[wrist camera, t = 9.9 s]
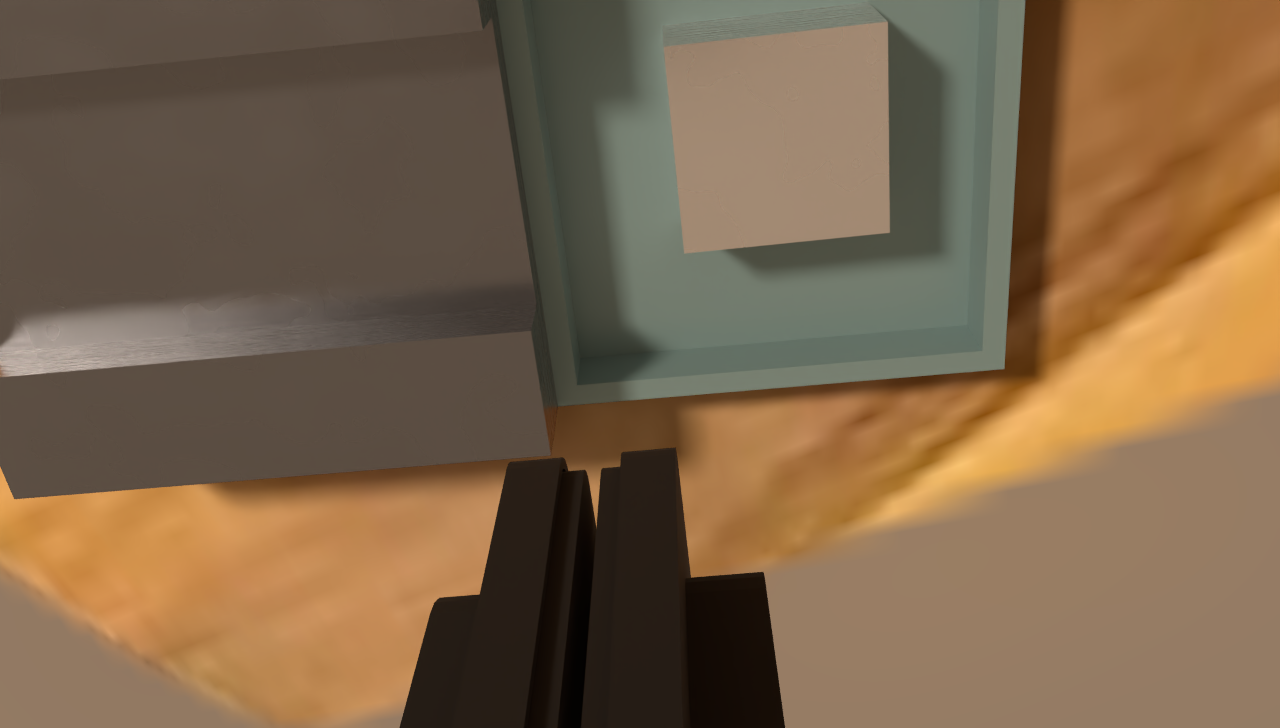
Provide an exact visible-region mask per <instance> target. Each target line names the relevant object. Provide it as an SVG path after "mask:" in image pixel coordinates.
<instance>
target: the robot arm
mask: <svg viewBox="0 0 1280 728" xmlns="http://www.w3.org/2000/svg"><path fill="white" fill-rule="evenodd" d="M400 728H785V725H784V717H783V709H782V702H781V695H780V687H779V680H778V672H777V665H776V658H775V650H774V643H773V635H772V629H771V621H770V614H769V606H768V598H767V591H766V584H765V577H764V573H763V572H757V573H744V574H732V575H719V576H707V577H694V578H691V575H690V566H689V557H688V548H687V539H686V530H685V522H684V513H683V504H682V495H681V486H680V477H679V468H678V460H677V453H676V448H666V449H655V450H643V451H632V452H622V454H621V466H620V467H613V468H602V470H601V479H600V491H599V504H598V517H597V530H596V523H595V517H594V511H593V504H592V498H591V492H590V485H589V480H588V475H587V472H586V470H579V471H568V468H567V464H566V461H565V459H564V458H552V459H540V460H529V461H517V462H510V463H509V464H508V467H507V470H506V475H505V479H504V484H503V489H502V493H501V498H500V503H499V507H498V512H497V517H496V521H495V526H494V531H493V535H492V540H491V545H490V549H489V554H488V559H487V563H486V568H485V573H484V577H483V582H482V587H481V591H480V595H469V596H456V597H444V598H439V599H438V600H437V601H436V602H435V603H434V605H433V608H432V610H431V613H430V616H429V620H428V624H427V628H426V631H425V635H424V639H423V642H422V646H421V650H420V654H419V657H418V661H417V665H416V669H415V672H414V676H413V680H412V683H411V687H410V691H409V695H408V698H407V702H406V706H405V710H404V713H403V717H402V721H401V724H400Z"/></svg>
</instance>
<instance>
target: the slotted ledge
mask: <svg viewBox="0 0 1280 728" xmlns="http://www.w3.org/2000/svg"><path fill="white" fill-rule="evenodd" d="M557 410H558V403H557V397H556V390H555V384H554V377H553V371H552V364H551V357H550V351H549V344H548V338H547V331H546V325H545V318H544V312H543V305H542V299H541V292H540V286H539V279H538V273H537V266H536V260H535V253H534V247H533V240H532V233H531V227H530V220H529V214H528V207H527V201H526V194H525V188H524V181H523V175H522V168H521V162H520V155H519V149H518V142H517V136H516V129H515V123H514V116H513V109H512V103H511V96H510V90H509V83H508V77H507V70H506V64H505V57H504V51H503V44H502V38H501V31H500V25H499V18H498V12H497V5H496V0H0V467H1V469H2V471H3V474H4V476H5V478H6V481H7V483H8V485H9V488H10V490H11V492H12V495H13V497H14V499H22V498H35V497H47V496H59V495H72V494H84V493H96V492H108V491H121V490H133V489H145V488H157V487H170V486H182V485H194V484H206V483H219V482H231V481H243V480H256V479H268V478H280V477H292V476H305V475H317V474H329V473H341V472H354V471H366V470H378V469H390V468H403V467H415V466H427V465H440V464H452V463H464V462H476V461H489V460H501V459H513V458H525V457H538V456H550V455H551V451H552V444H553V437H554V431H555V424H556V417H557Z"/></svg>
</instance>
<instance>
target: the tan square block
mask: <svg viewBox="0 0 1280 728" xmlns="http://www.w3.org/2000/svg"><path fill="white" fill-rule="evenodd" d="M662 29H663V46H664V57H665V67H666V77H667V87H668V97H669V107H670V117H671V127H672V136H673V146H674V156H675V166H676V176H677V186H678V196H679V206H680V216H681V226H682V236H683V246H684V254H685V253H695V252H705V251H714V250H724V249H734V248H744V247H754V246H764V245H774V244H783V243H793V242H803V241H813V240H823V239H833V238H843V237H852V236H862V235H872V234H882V233H890V200H889V94H888V21H887V20H886V19H885V18H884V17H883V16H882V15H881V14H880V13H879V12H878V11H877V10H876V9H875V8H874V7H873V6H871V5H870V4H869V3H868V2H865V3H856V4H848V5H839V6H830V7H821V8H812V9H803V10H795V11H786V12H777V13H768V14H759V15H751V16H742V17H733V18H724V19H715V20H706V21H698V22H689V23H680V24H671V25H662Z"/></svg>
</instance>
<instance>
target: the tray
mask: <svg viewBox="0 0 1280 728" xmlns="http://www.w3.org/2000/svg"><path fill="white" fill-rule="evenodd" d="M865 2H868V3H869V4H870V5H871V6H873V7H874V8H875V9H876V10H877V11H878V12H879V13H880V14H881V15H882V16H883V17H884V18H885V19H886V20H887V21H888V94H889V200H890V233H882V234H872V235H862V236H852V237H843V238H833V239H823V240H813V241H803V242H793V243H783V244H774V245H764V246H754V247H744V248H734V249H724V250H714V251H705V252H695V253H685V254H684V246H683V236H682V226H681V216H680V206H679V196H678V186H677V176H676V166H675V156H674V146H673V136H672V127H671V117H670V107H669V97H668V87H667V77H666V67H665V57H664V46H663V29H662V25H671V24H680V23H689V22H698V21H706V20H715V19H724V18H733V17H742V16H751V15H759V14H768V13H777V12H786V11H795V10H803V9H812V8H821V7H830V6H839V5H848V4H856V3H865ZM496 5H497V12H498V18H499V25H500V31H501V38H502V44H503V51H504V57H505V64H506V70H507V77H508V83H509V90H510V96H511V103H512V109H513V116H514V123H515V129H516V136H517V142H518V149H519V155H520V162H521V168H522V175H523V181H524V188H525V194H526V201H527V207H528V214H529V220H530V227H531V233H532V240H533V247H534V253H535V260H536V266H537V273H538V279H539V286H540V292H541V299H542V305H543V312H544V318H545V325H546V331H547V338H548V344H549V351H550V357H551V364H552V371H553V377H554V384H555V390H556V397H557V403H558V406H569V405H581V404H593V403H605V402H617V401H629V400H641V399H653V398H665V397H677V396H689V395H701V394H713V393H725V392H737V391H748V390H760V389H772V388H784V387H796V386H808V385H820V384H832V383H844V382H856V381H868V380H880V379H892V378H904V377H916V376H928V375H939V374H951V373H963V372H975V371H987V370H999V369H1004V368H1005V350H1006V332H1007V315H1008V297H1009V279H1010V262H1011V244H1012V227H1013V209H1014V191H1015V174H1016V156H1017V138H1018V121H1019V103H1020V86H1021V68H1022V50H1023V33H1024V15H1025V0H496Z"/></svg>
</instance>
